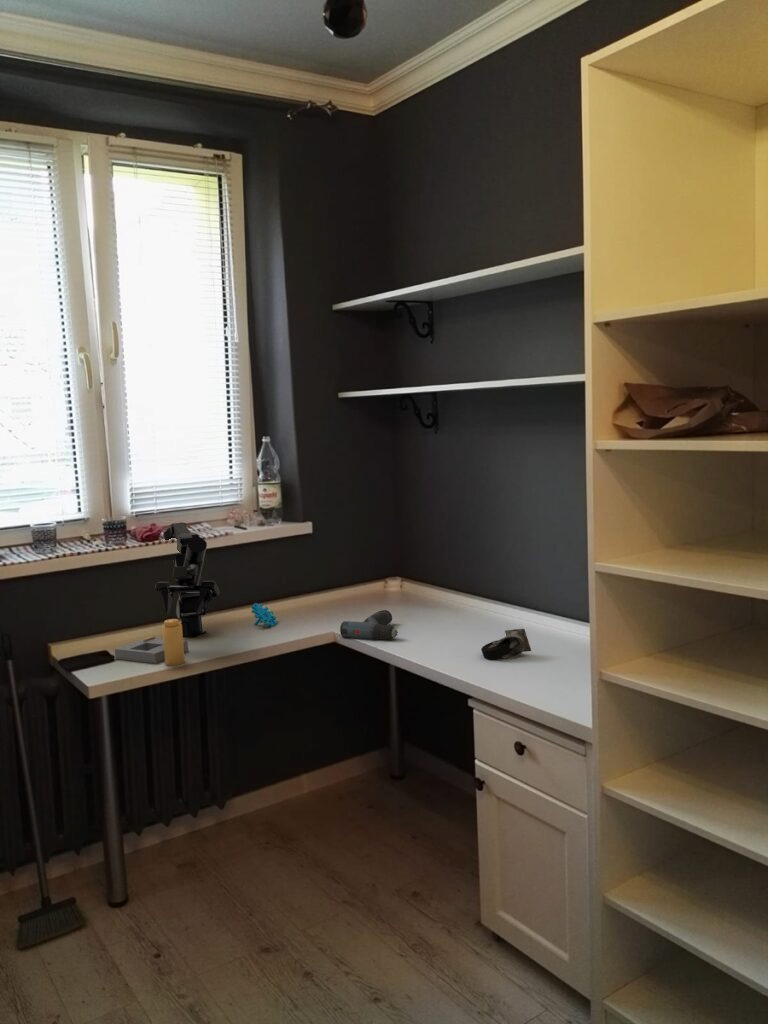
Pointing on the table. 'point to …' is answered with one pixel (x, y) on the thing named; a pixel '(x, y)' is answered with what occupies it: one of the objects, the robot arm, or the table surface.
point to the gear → (263, 615)
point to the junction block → (144, 650)
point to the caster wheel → (507, 645)
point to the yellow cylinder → (173, 642)
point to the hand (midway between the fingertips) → (181, 613)
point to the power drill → (370, 627)
